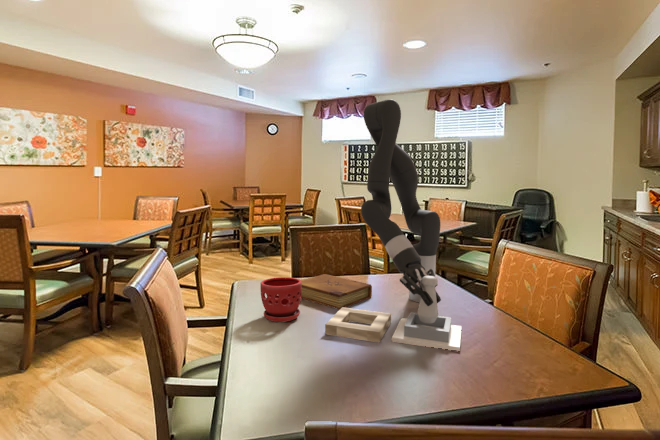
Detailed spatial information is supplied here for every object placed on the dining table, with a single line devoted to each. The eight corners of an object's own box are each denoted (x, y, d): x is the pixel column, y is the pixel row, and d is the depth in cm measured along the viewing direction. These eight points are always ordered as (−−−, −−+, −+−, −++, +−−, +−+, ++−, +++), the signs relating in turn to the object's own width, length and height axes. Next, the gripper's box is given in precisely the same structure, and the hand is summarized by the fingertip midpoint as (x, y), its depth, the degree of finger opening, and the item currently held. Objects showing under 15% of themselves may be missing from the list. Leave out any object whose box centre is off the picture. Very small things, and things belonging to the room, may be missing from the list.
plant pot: (308, 314, 133) (309, 278, 132) (288, 327, 122) (288, 288, 120) (275, 308, 139) (275, 273, 138) (252, 320, 127) (252, 283, 126)
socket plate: (401, 321, 127) (401, 308, 127) (461, 329, 121) (462, 316, 121) (391, 341, 112) (392, 326, 112) (459, 351, 106) (460, 336, 106)
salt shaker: (438, 325, 113) (441, 280, 111) (417, 323, 114) (419, 278, 112) (437, 318, 119) (439, 274, 117) (417, 316, 120) (419, 273, 118)
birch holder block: (342, 316, 132) (342, 307, 131) (390, 322, 126) (391, 313, 126) (325, 334, 117) (325, 324, 116) (379, 342, 111) (379, 332, 111)
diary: (371, 299, 152) (372, 284, 152) (339, 311, 138) (339, 294, 138) (326, 286, 167) (326, 273, 167) (293, 296, 153) (293, 281, 153)
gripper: (394, 248, 115) (428, 301, 107) (424, 244, 124) (457, 292, 116) (380, 263, 120) (410, 315, 112) (410, 258, 129) (440, 305, 121)
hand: (434, 303), depth 114 cm, fingers closed on salt shaker, 3 cm apart
